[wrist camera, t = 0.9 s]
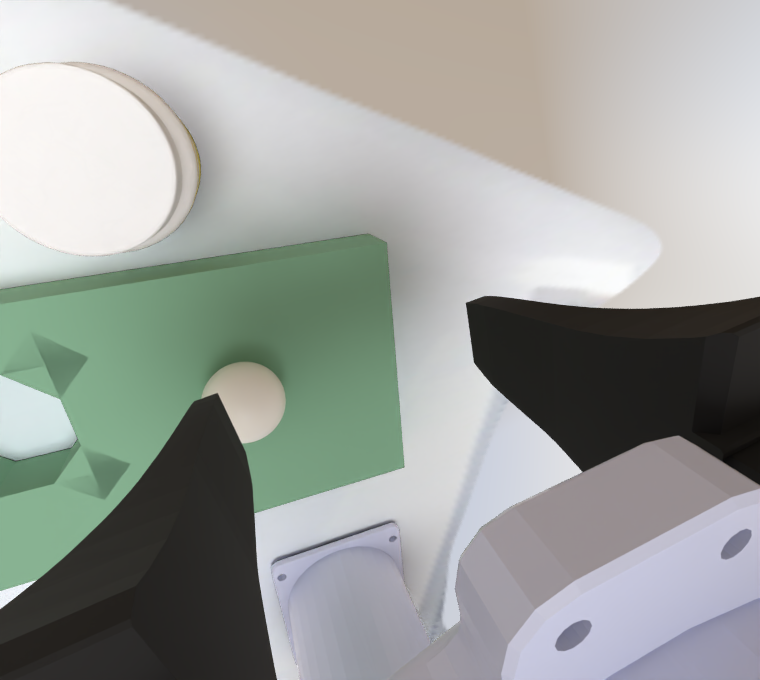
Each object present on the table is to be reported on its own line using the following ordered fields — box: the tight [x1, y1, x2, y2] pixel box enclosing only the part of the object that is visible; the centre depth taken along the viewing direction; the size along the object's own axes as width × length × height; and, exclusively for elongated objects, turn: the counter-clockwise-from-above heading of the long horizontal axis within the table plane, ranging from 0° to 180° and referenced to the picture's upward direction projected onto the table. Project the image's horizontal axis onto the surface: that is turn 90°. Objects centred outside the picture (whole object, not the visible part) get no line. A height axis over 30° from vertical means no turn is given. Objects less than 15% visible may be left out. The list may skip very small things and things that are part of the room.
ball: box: [201, 362, 286, 443], centre depth 18 cm, size 3×3×3 cm
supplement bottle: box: [0, 62, 201, 256], centre depth 13 cm, size 5×5×8 cm
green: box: [0, 234, 404, 591], centre depth 20 cm, size 12×20×2 cm, turn 95°
